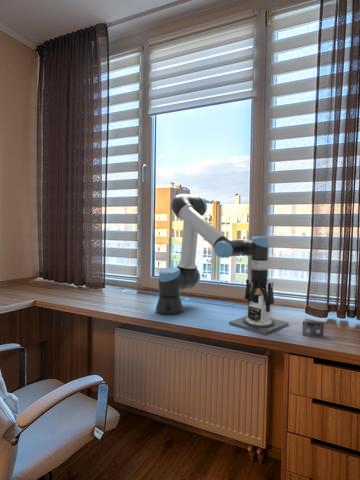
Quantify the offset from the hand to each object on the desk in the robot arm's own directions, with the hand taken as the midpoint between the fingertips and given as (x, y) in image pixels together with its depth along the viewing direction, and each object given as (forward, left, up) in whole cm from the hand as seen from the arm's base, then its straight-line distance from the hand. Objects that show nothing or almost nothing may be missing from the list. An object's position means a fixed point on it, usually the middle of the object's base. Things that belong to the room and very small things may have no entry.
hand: (258, 316), depth 149 cm
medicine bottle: (0, 0, -2) cm, 2 cm away
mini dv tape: (+24, +5, -4) cm, 25 cm away
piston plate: (0, 0, -4) cm, 4 cm away
